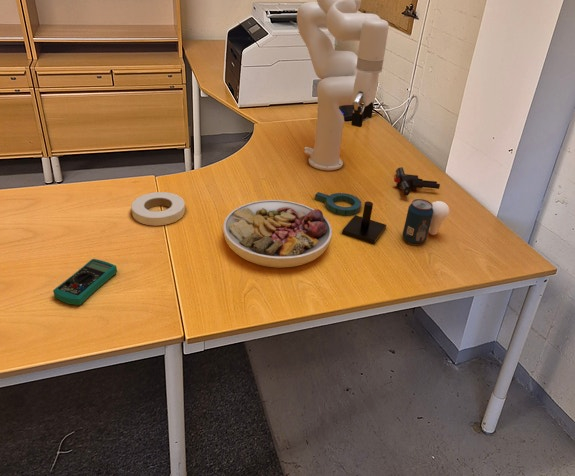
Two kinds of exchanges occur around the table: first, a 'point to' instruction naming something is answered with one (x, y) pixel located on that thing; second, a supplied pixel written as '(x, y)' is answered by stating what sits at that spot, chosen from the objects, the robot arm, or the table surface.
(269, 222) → the bowl
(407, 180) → the black plastic t-shaped piece
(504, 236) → the table surface
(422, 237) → the soda can
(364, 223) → the ring stand
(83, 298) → the digital multimeter
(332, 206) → the ring
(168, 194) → the tape roll
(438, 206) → the lightbulb
